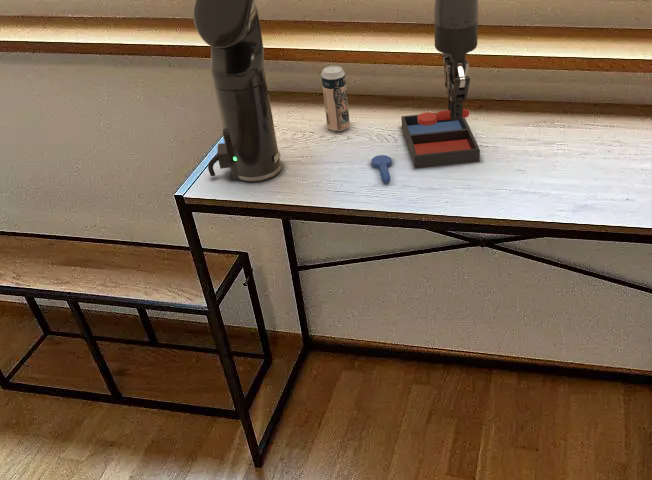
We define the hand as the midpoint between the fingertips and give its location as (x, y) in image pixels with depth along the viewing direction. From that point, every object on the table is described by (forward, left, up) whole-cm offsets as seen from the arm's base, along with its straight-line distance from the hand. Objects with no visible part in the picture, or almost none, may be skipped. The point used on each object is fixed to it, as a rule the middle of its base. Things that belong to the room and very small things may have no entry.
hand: (455, 116), depth 133 cm
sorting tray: (-2, +4, -7) cm, 9 cm away
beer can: (-22, +16, -7) cm, 28 cm away
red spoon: (-2, 0, 0) cm, 2 cm away
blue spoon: (-15, -5, -7) cm, 17 cm away
